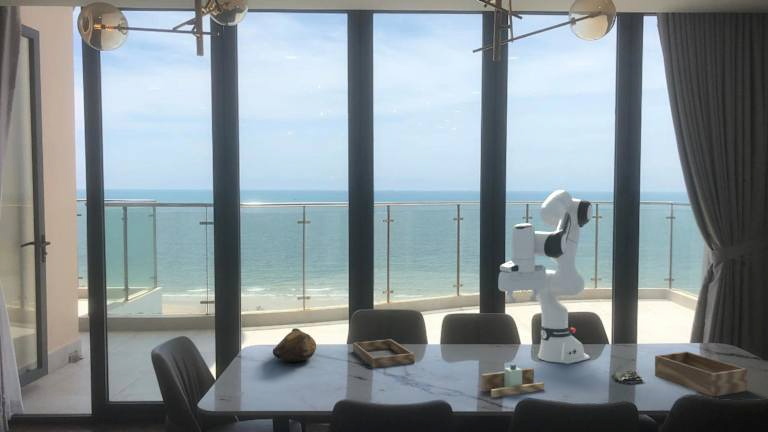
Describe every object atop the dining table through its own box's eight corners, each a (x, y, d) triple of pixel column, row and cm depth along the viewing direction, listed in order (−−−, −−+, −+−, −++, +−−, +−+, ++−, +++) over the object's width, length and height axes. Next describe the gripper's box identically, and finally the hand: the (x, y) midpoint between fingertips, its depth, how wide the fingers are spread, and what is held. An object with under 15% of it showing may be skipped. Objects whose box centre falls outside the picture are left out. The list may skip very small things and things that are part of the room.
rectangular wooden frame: (391, 347, 272) (391, 339, 272) (414, 362, 247) (414, 353, 246) (353, 351, 265) (353, 343, 265) (373, 367, 240) (373, 358, 240)
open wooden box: (686, 370, 234) (686, 351, 234) (746, 390, 210) (747, 369, 210) (654, 375, 228) (655, 355, 228) (713, 396, 204) (713, 374, 204)
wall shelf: (531, 383, 219) (531, 367, 219) (544, 389, 212) (544, 373, 211) (481, 390, 211) (481, 374, 211) (492, 397, 204) (493, 380, 203)
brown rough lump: (306, 372, 233) (306, 336, 233) (262, 371, 235) (262, 335, 234) (324, 349, 270) (324, 317, 269) (286, 348, 272) (286, 316, 271)
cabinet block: (515, 387, 214) (515, 362, 214) (522, 391, 210) (522, 365, 210) (504, 389, 212) (504, 364, 212) (510, 392, 208) (510, 367, 208)
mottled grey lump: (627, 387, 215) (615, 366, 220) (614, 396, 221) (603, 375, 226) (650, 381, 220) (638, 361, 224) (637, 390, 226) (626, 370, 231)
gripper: (540, 263, 226) (540, 298, 227) (496, 266, 219) (495, 302, 219) (550, 265, 220) (550, 301, 221) (505, 267, 213) (505, 304, 213)
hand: (522, 301), depth 220 cm, fingers open, 8 cm apart
